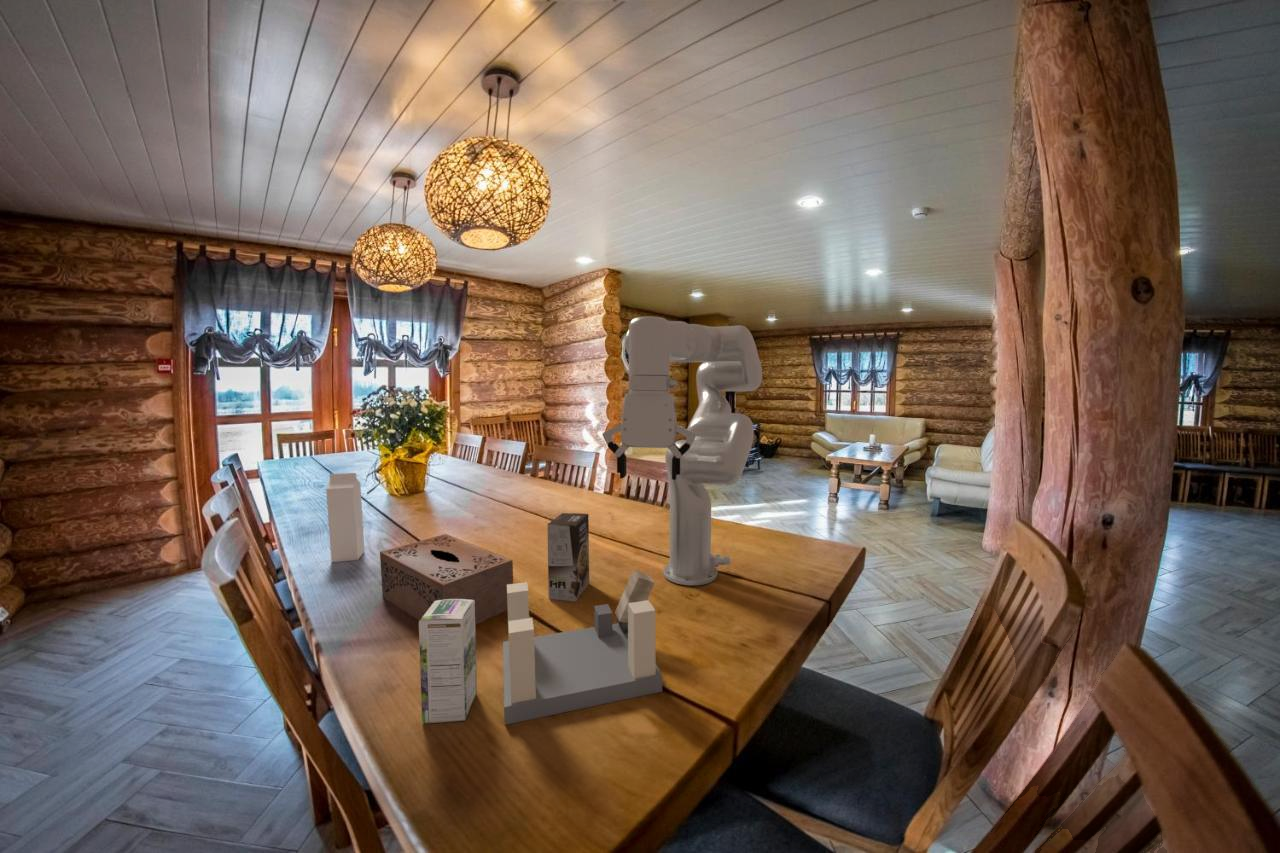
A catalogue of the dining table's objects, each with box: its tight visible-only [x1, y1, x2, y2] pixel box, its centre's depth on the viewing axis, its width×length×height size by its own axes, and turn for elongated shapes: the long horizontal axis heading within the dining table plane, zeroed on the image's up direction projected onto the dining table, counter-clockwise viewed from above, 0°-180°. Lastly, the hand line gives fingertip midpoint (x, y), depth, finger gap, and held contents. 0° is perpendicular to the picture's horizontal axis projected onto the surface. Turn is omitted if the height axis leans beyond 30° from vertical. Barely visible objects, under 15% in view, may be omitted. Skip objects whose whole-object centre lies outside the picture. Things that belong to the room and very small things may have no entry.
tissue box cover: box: [379, 533, 514, 626], centre depth 95 cm, size 26×14×10 cm, turn 51°
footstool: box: [502, 581, 663, 726], centre depth 71 cm, size 22×16×12 cm
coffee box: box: [547, 512, 590, 603], centre depth 99 cm, size 9×6×16 cm
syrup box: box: [418, 599, 478, 724], centre depth 63 cm, size 6×6×14 cm
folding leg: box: [614, 569, 655, 633], centre depth 80 cm, size 3×4×10 cm
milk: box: [325, 472, 366, 563], centre depth 118 cm, size 6×6×22 cm
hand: (648, 477), depth 86 cm, fingers open, 9 cm apart
